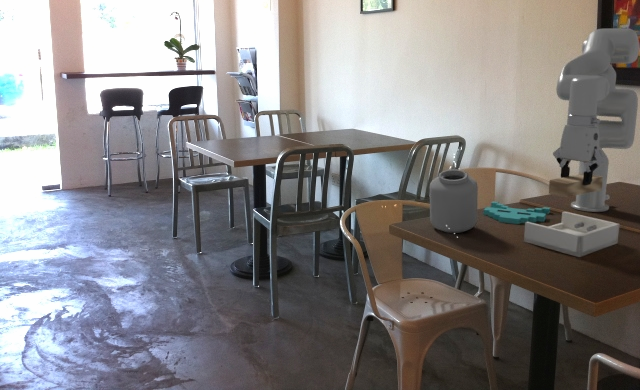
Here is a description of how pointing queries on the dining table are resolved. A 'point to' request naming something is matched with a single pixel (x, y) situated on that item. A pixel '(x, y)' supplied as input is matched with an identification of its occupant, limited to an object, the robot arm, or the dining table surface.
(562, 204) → the dining table surface
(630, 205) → the dining table surface
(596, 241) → the carcass
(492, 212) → the alien figure
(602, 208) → the robot arm
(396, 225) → the dining table surface
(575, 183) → the shelf board
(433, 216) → the jar
